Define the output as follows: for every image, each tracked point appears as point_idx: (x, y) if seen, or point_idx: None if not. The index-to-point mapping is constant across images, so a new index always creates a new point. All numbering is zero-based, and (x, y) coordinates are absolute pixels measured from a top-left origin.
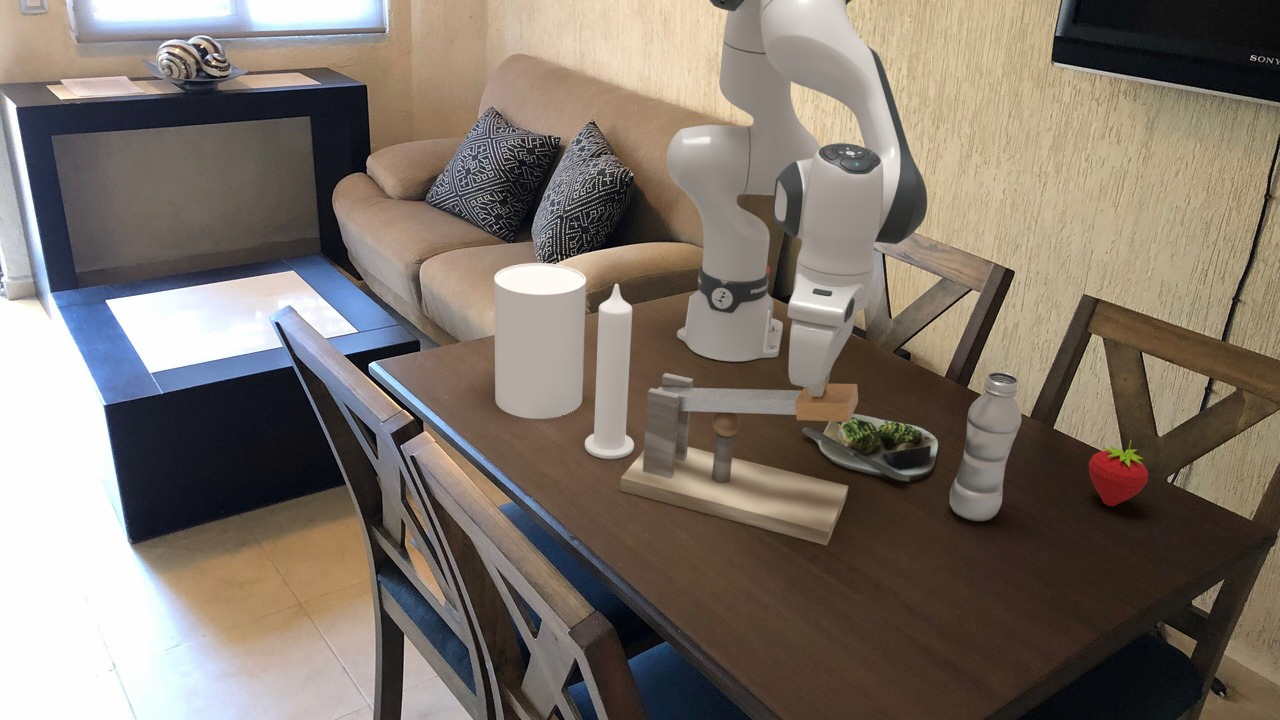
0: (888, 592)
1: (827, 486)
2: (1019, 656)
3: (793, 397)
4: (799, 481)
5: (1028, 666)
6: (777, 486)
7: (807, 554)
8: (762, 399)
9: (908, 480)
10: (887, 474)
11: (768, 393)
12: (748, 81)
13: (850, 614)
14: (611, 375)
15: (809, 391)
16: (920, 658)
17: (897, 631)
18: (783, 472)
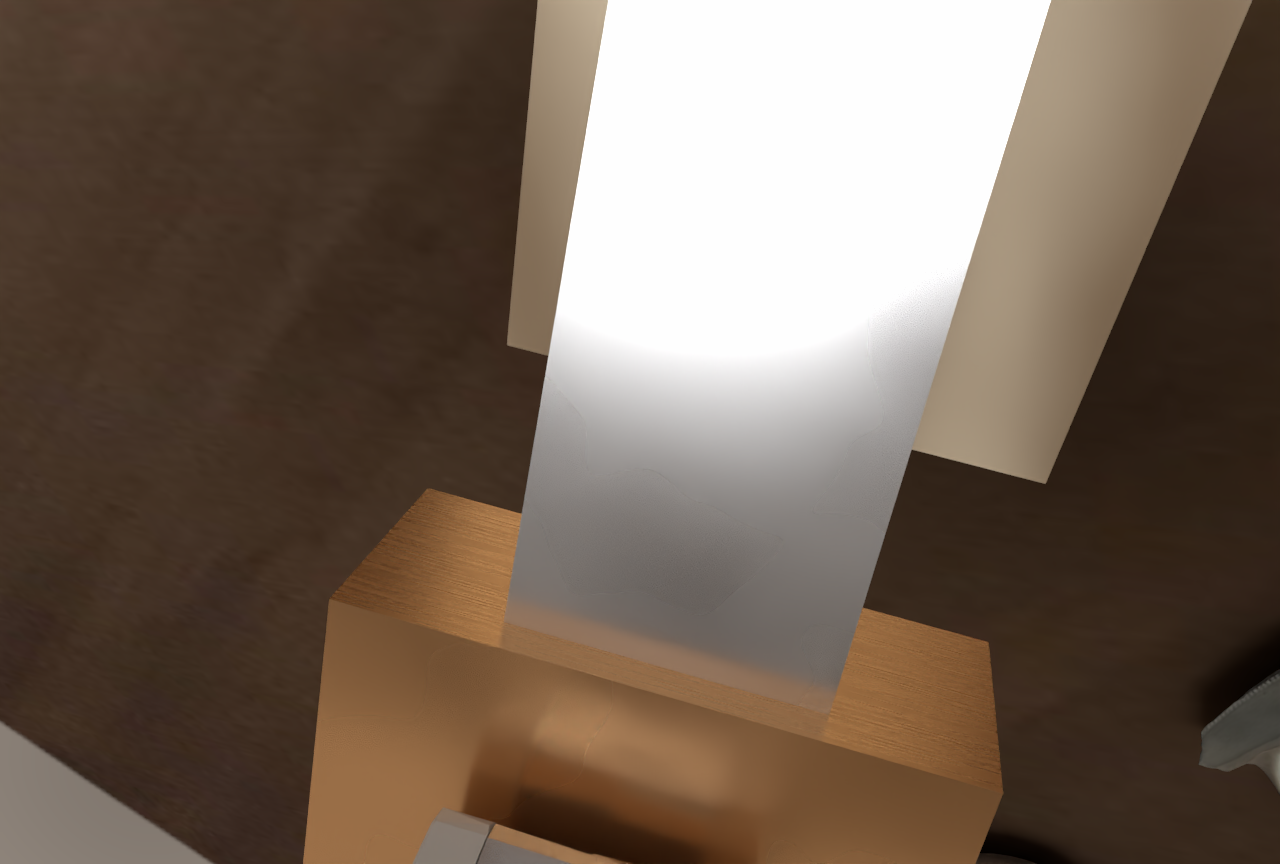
0: (305, 514)
1: (1015, 367)
2: (186, 794)
3: (597, 569)
4: (1053, 192)
5: (156, 801)
6: None
7: (423, 206)
8: (590, 111)
9: (1206, 763)
10: (1267, 685)
11: (814, 204)
12: None
13: (99, 366)
14: None
15: (431, 838)
16: (16, 553)
17: (102, 510)
18: (1179, 73)
